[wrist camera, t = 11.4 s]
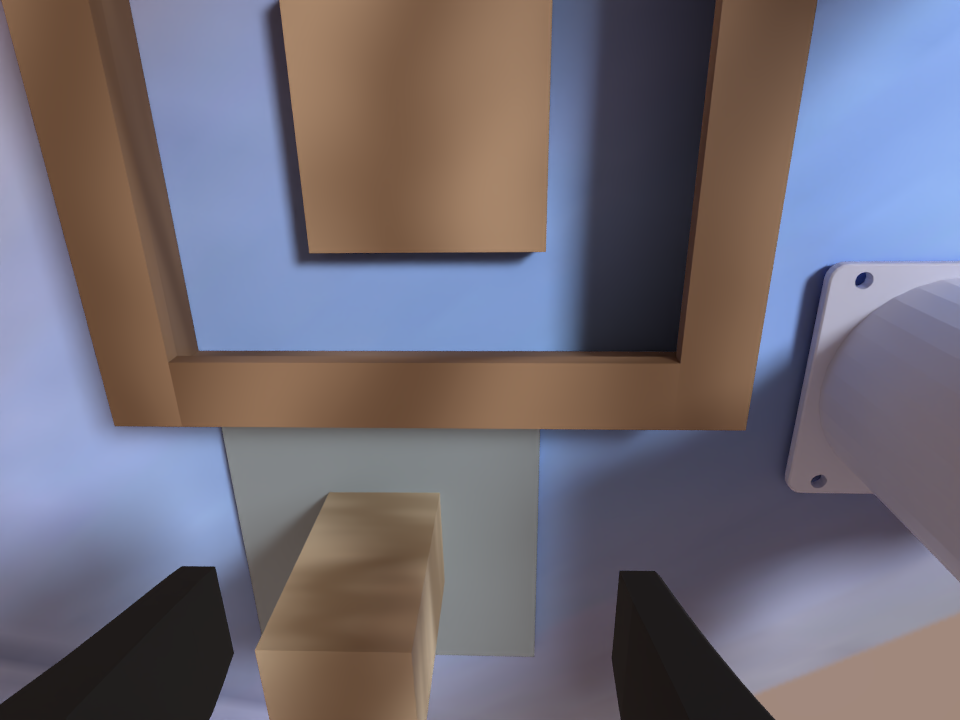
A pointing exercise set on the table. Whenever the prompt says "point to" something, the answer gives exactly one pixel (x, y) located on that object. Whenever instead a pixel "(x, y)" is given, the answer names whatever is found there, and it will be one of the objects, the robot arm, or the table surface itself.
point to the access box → (410, 212)
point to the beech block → (358, 613)
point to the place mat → (409, 469)
